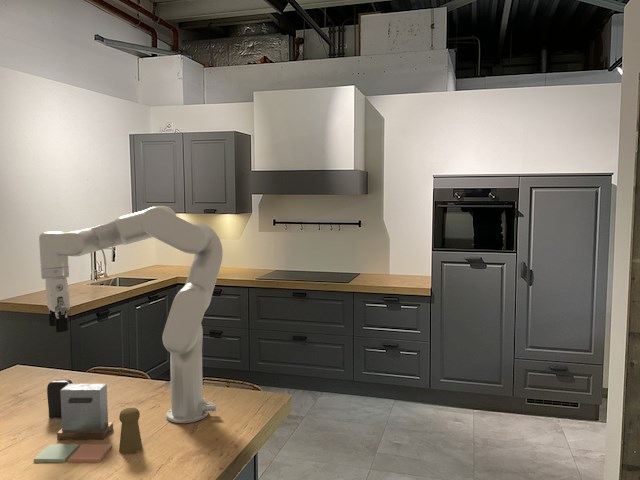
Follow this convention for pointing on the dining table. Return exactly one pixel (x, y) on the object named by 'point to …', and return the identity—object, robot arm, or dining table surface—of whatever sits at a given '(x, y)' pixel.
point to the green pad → (56, 453)
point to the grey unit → (84, 412)
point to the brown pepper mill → (130, 431)
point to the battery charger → (55, 397)
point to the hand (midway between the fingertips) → (58, 328)
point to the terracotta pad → (90, 453)
